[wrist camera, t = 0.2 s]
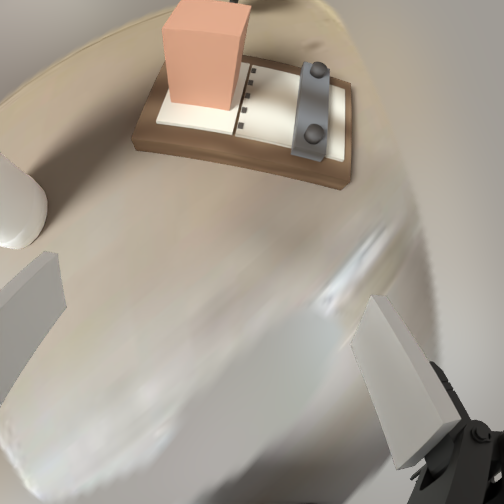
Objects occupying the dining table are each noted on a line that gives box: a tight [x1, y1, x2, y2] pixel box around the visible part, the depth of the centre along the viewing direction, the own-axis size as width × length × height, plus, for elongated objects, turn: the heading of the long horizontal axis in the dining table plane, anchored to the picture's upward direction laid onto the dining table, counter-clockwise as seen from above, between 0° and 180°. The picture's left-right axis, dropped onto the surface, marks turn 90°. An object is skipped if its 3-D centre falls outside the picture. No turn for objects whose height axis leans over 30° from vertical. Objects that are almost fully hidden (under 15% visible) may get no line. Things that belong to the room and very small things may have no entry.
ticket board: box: [131, 55, 352, 190], centre depth 28 cm, size 14×22×6 cm, turn 81°
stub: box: [156, 0, 251, 135], centre depth 23 cm, size 10×8×10 cm
